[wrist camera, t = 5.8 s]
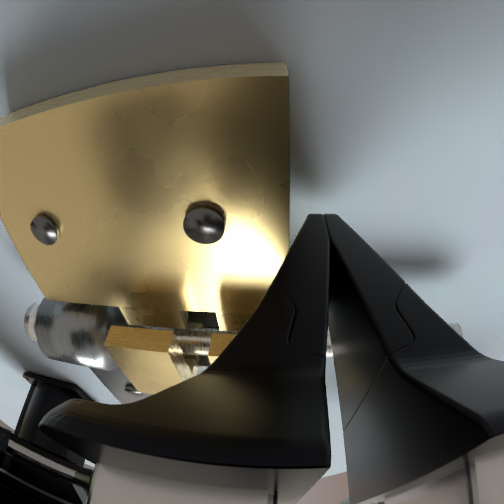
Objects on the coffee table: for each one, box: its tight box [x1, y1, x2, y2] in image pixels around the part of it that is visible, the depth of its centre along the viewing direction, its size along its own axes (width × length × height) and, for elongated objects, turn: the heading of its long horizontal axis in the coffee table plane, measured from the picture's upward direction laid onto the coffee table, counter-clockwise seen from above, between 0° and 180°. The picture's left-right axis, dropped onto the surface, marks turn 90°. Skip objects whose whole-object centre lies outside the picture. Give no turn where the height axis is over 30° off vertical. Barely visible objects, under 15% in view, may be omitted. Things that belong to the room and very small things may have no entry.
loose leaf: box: [0, 63, 290, 394], centre depth 9 cm, size 9×10×4 cm
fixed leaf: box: [24, 298, 462, 404], centre depth 14 cm, size 18×10×4 cm, turn 93°
